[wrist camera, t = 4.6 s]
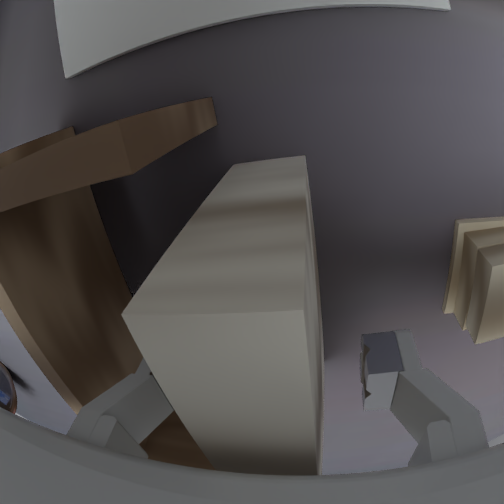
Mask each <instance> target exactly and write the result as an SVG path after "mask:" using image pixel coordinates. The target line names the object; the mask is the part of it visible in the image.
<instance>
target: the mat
mask: <svg viewBox="0 0 504 504" xmlns="http://www.w3.org/2000/svg"><path fill="white" fill-rule="evenodd" d="M337 7H403V8H418V9H429V10H438V11H446V12H447V11H449V10H451V7H450V3H449V0H54V8H55V17H56V25H57V32H58V39H59V46H60V52H61V58H62V63H63V69H64V74H65V79H67V78H72V77H74V76H76V75H78V74H81V73H83V72H85V71H87V70H89V69H91V68H93V67H96V66H98V65H100V64H102V63H105V62H107V61H109V60H112V59H114V58H116V57H119V56H121V55H124V54H126V53H129V52H132V51H134V50H137V49H139V48H142V47H145V46H148V45H151V44H154V43H156V42H159V41H162V40H165V39H169V38H172V37H175V36H178V35H182V34H185V33H188V32H192V31H196V30H199V29H203V28H207V27H211V26H215V25H219V24H223V23H228V22H232V21H237V20H242V19H247V18H253V17H258V16H264V15H270V14H277V13H284V12H292V11H300V10H310V9H322V8H337Z"/></svg>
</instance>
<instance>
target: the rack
mask: <svg viewBox="0 0 504 504" xmlns="http://www.w3.org/2000/svg"><path fill="white" fill-rule="evenodd" d="M216 125H218V124H217V120H216V115H215V110H214V105H213V100H212V97H208V98H203V99H198V100H194V101H189V102H185V103H180V104H176V105H172V106H167V107H163V108H159V109H155V110H152V111H148V112H144V113H140V114H137V115H133V116H130V117H126V118H123V119H120V120H116V121H113V122H111V123H108V124H105V125H102V126H99V127H96V128H94V129H91V130H88V131H85V132H83V133H80V134H78V135H75V132H74V129H73V126H72V127H69V128H66V129H63V130H60V131H57V132H54V133H51V134H49V135H46V136H43V137H40V138H38V139H35V140H33V141H30V142H27V143H25V144H22V145H20V146H17V147H15V148H13V149H10V150H8V151H6V152H3V153H1V154H0V308H1V310H2V312H3V314H4V315H5V317H6V319H7V320H8V322H9V324H10V325H11V327H12V328H13V330H14V332H15V333H16V335H17V336H18V338H19V339H20V341H21V342H22V344H23V345H24V347H25V348H26V350H27V351H28V353H29V354H30V356H31V357H32V358H33V360H34V361H35V363H36V364H37V365H38V367H39V368H40V370H41V371H42V372H43V374H44V375H45V376H46V378H47V379H48V380H49V381H50V383H51V384H52V385H53V387H54V388H55V389H56V390H57V392H58V393H59V394H60V395H61V396H62V398H63V399H64V400H65V401H66V403H67V404H68V405H69V406H70V407H71V408H72V410H73V411H74V412H75V413H76V414H77V415H78V413H79V411H80V409H81V408H82V407H83V406H85V405H86V404H88V403H89V402H91V401H92V400H94V399H95V398H97V397H98V396H99V395H101V394H102V393H104V392H105V391H107V390H108V389H110V388H111V387H113V386H114V385H115V384H117V383H118V382H120V381H121V380H123V379H124V378H126V377H127V376H128V375H130V374H131V373H133V374H135V373H136V371H137V369H138V367H139V365H140V363H141V361H142V359H143V355H142V354H141V352H140V350H139V348H138V346H137V344H136V342H135V341H134V339H133V337H132V335H131V333H130V331H129V329H128V327H127V325H126V323H125V321H124V319H123V317H122V315H121V314H122V313H123V311H124V310H125V308H126V307H127V305H128V304H129V302H130V301H131V299H132V296H131V293H130V291H129V289H128V286H127V284H126V282H125V279H124V277H123V274H122V272H121V270H120V267H119V265H118V262H117V260H116V257H115V255H114V252H113V250H112V247H111V244H110V242H109V239H108V236H107V234H106V231H105V228H104V226H103V223H102V220H101V217H100V214H99V211H98V209H97V206H96V203H95V200H94V197H93V194H92V191H91V187H90V185H91V184H95V183H99V182H103V181H107V180H111V179H115V178H119V177H123V176H128V175H132V174H134V173H135V172H137V171H139V170H140V169H142V168H143V167H145V166H146V165H148V164H150V163H151V162H153V161H155V160H156V159H158V158H160V157H161V156H163V155H164V154H166V153H168V152H170V151H171V150H173V149H175V148H176V147H178V146H180V145H182V144H183V143H185V142H187V141H189V140H190V139H192V138H194V137H196V136H197V135H199V134H201V133H203V132H205V131H207V130H208V129H210V128H212V127H214V126H216ZM173 410H174V409H173ZM139 445H140V446H141V447H142V448H143V449H144V450H145V452H146V453H147V454H148V459H151V460H155V461H160V462H165V463H170V464H176V465H182V466H188V467H194V468H201V469H208V470H215V468H214V467H213V466H212V464H211V463H210V462H209V460H208V459H207V457H206V456H205V455H204V453H203V452H202V450H201V449H200V448H199V446H198V445H197V443H196V442H195V440H194V439H193V437H192V436H191V435H190V433H189V432H188V430H187V429H186V427H185V426H184V424H183V422H182V421H181V419H180V418H179V416H178V415H177V413H176V412H175V410H174V411H173V412H172V413H171V414H170V415H169V416H168V417H167V418H166V419H165V420H164V421H163V422H162V423H161V424H160V425H158V426H157V427H156V428H155V429H154V430H153V431H152V432H151V433H150V434H149V435H148V436H147V437H146V438H145V439H144V440H143V441H142V442H141V443H140V444H139Z"/></svg>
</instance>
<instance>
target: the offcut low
mask: <svg viewBox="0 0 504 504" xmlns="http://www.w3.org/2000/svg"><path fill="white" fill-rule="evenodd" d="M503 226H504V216H502V217H487V218H471V219H457V220H455V227H454V237H453V245H452V253H451V260H450V267H449V273H448V279H447V285H446V291H445V296H444V301H443V306H442V310H443V313H444V314H448V313H454V309H455V303H456V297H457V291H458V284H459V277H460V269H461V261H462V252H463V241H464V232H468V231H475V230H482V229H489V228H496V227H503Z"/></svg>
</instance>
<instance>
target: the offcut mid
mask: <svg viewBox="0 0 504 504" xmlns="http://www.w3.org/2000/svg"><path fill="white" fill-rule="evenodd" d="M501 244H504V226H503V227H496V228H489V229H482V230H475V231H468V232H464V241H463V252H462V261H461V269H460V277H459V284H458V291H457V297H456V303H455V309H454V314H455V316H456V318H457V320H458V322H459V324H460V326H461V328H462V330H467V327H466V320H467V315H468V310H469V305H470V300H471V294H472V288H473V282H474V275H475V268H476V260H477V252H478V249H480V248H485V247H491V246H496V245H501Z"/></svg>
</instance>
